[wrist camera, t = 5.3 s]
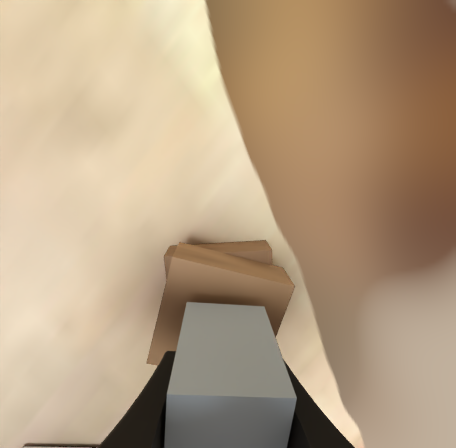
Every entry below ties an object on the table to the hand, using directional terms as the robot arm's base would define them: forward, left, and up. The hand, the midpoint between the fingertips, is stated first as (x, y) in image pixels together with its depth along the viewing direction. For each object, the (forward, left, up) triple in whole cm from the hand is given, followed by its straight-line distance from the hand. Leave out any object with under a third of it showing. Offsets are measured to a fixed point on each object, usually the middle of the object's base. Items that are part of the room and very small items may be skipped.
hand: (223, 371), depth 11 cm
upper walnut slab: (0, 0, -5) cm, 5 cm away
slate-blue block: (0, 0, -2) cm, 2 cm away
